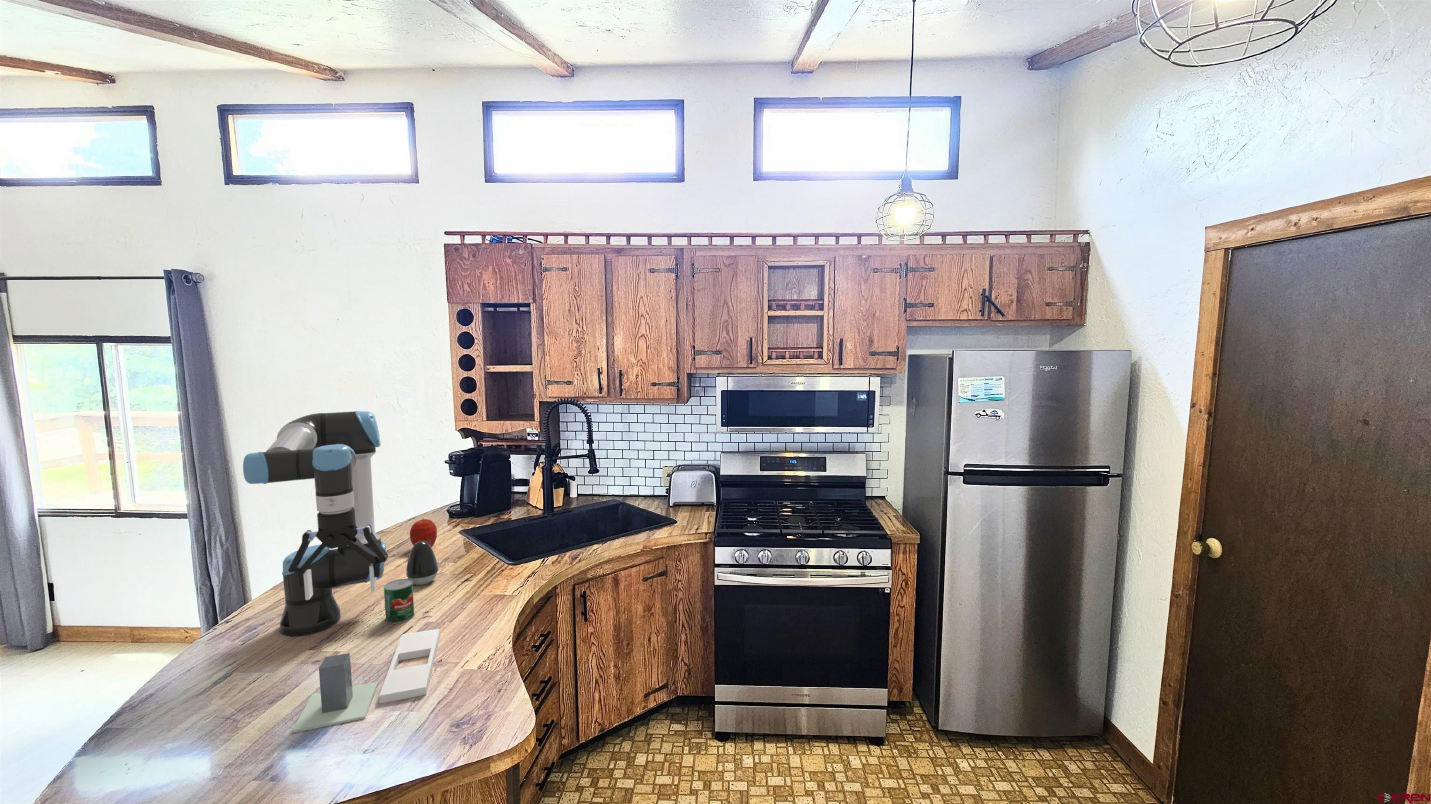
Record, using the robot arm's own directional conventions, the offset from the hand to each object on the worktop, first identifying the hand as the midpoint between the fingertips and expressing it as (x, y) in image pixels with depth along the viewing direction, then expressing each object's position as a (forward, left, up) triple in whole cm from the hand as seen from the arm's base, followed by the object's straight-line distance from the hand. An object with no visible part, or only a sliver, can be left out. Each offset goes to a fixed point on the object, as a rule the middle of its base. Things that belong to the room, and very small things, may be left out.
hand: (342, 593), depth 137 cm
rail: (+13, +6, -25) cm, 29 cm away
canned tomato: (+5, +37, -25) cm, 45 cm away
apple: (+4, +99, -25) cm, 102 cm away
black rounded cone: (+8, +64, -25) cm, 69 cm away
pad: (-1, -7, -25) cm, 26 cm away
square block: (-1, -7, -24) cm, 25 cm away
